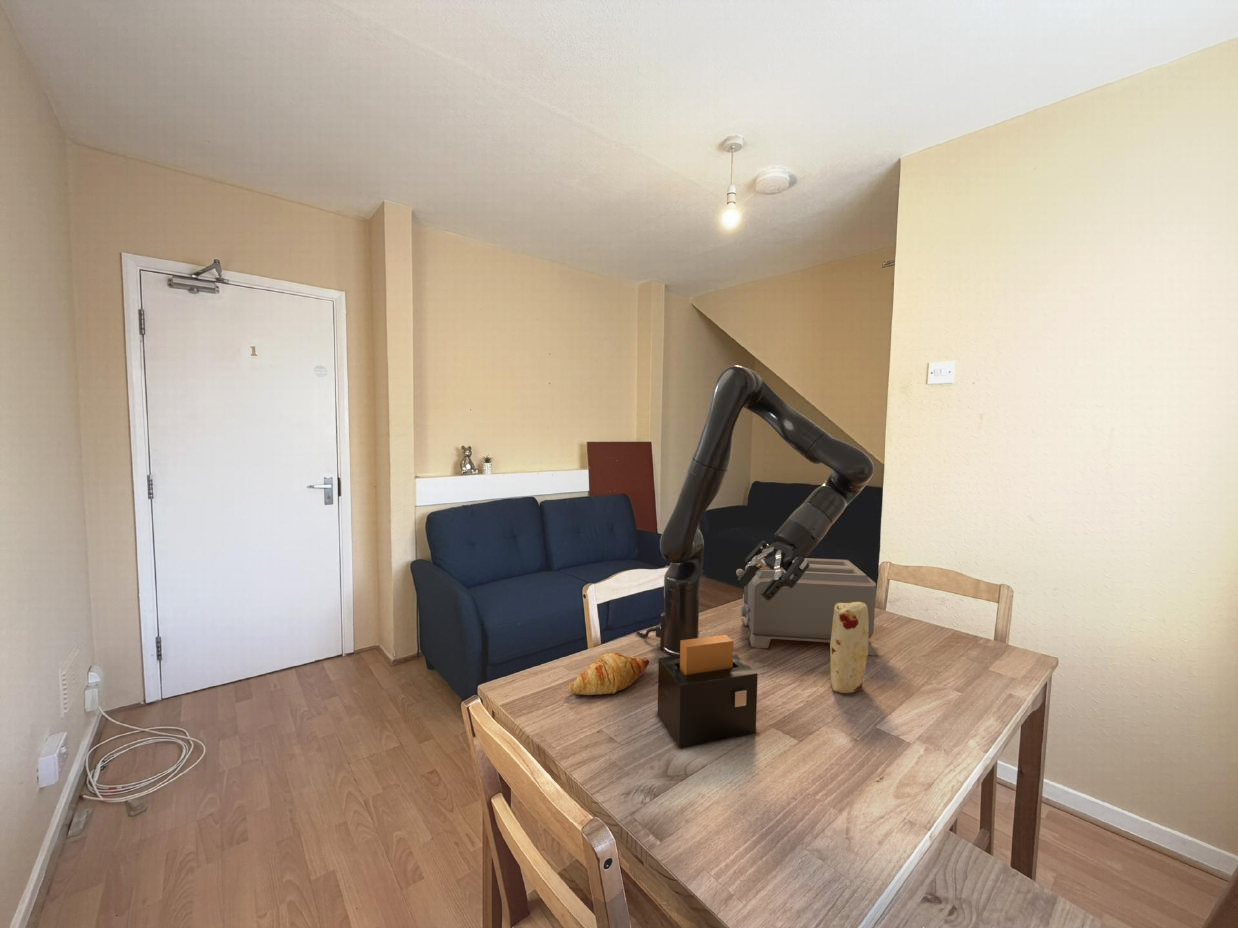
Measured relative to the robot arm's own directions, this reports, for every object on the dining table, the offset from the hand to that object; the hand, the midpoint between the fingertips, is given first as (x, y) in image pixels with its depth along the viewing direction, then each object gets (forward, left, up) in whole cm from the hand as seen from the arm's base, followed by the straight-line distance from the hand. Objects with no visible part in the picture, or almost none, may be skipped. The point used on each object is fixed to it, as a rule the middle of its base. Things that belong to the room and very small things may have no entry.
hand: (752, 590), depth 97 cm
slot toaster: (-7, -7, -26) cm, 28 cm away
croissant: (-31, -3, -26) cm, 41 cm away
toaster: (+3, +45, -26) cm, 52 cm away
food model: (+17, +21, -26) cm, 38 cm away
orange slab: (-7, -7, -19) cm, 22 cm away
